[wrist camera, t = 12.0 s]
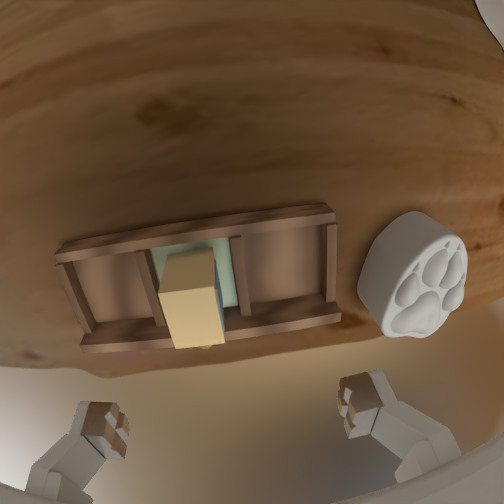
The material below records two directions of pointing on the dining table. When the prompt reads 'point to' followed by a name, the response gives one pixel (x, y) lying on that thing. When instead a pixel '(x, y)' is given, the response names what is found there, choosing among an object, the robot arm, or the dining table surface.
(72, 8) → the dining table surface
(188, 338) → the frame block
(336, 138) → the dining table surface
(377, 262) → the lumpy-topped squat cylinder
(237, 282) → the brown divided tray
